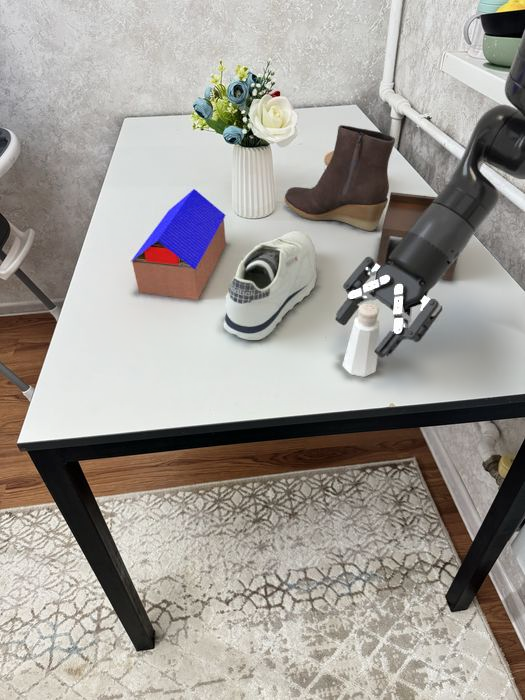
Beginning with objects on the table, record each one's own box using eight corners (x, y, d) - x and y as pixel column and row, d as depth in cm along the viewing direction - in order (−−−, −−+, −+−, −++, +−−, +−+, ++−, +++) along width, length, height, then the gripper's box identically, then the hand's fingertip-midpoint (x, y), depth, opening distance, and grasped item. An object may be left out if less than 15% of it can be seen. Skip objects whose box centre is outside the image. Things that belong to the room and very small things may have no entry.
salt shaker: (366, 382, 72) (376, 325, 65) (335, 367, 75) (341, 310, 68) (384, 362, 76) (395, 306, 68) (353, 348, 78) (361, 292, 71)
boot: (295, 197, 118) (298, 108, 104) (390, 222, 108) (407, 127, 95) (276, 212, 113) (277, 120, 99) (375, 239, 103) (390, 142, 89)
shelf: (452, 248, 100) (465, 200, 93) (451, 281, 91) (465, 230, 84) (382, 239, 103) (390, 191, 96) (375, 270, 94) (383, 220, 87)
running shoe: (329, 260, 97) (334, 205, 89) (277, 353, 78) (278, 293, 70) (277, 250, 100) (277, 196, 92) (215, 336, 81) (208, 277, 73)
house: (227, 244, 102) (223, 191, 95) (199, 300, 88) (191, 243, 80) (173, 239, 104) (165, 186, 96) (136, 293, 90) (123, 237, 82)
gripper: (383, 213, 69) (314, 305, 73) (464, 258, 60) (381, 360, 64) (404, 236, 75) (339, 320, 78) (480, 280, 66) (403, 373, 69)
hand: (358, 338), depth 71 cm, fingers open, 8 cm apart
